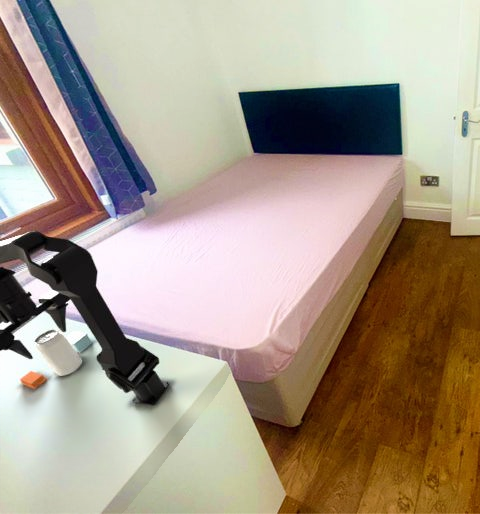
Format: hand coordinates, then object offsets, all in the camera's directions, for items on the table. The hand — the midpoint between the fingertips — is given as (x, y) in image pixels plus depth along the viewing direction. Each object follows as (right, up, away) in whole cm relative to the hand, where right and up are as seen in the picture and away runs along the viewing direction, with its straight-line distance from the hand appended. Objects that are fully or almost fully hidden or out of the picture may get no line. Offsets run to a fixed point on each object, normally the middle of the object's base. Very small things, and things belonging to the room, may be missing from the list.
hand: (48, 344), depth 89 cm
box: (-6, -6, +20) cm, 22 cm away
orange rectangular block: (-11, -13, +10) cm, 20 cm away
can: (-3, -10, +12) cm, 16 cm away
